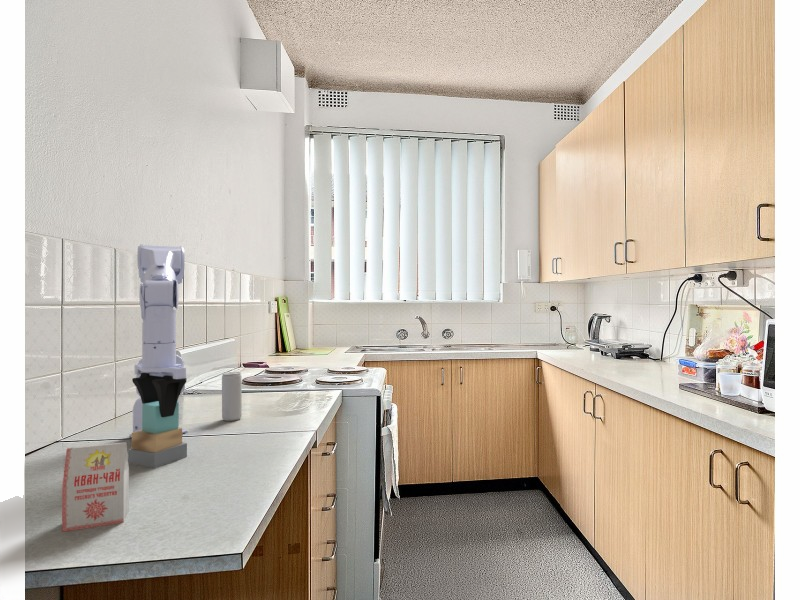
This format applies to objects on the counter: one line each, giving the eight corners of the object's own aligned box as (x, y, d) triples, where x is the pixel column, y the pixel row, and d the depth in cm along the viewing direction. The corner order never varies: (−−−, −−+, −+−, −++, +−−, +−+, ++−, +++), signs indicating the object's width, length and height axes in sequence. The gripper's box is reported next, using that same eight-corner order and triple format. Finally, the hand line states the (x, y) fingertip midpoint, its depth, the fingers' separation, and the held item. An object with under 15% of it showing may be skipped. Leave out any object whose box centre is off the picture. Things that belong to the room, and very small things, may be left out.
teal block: (142, 430, 87) (142, 403, 87) (165, 425, 91) (165, 399, 91) (155, 433, 84) (155, 406, 85) (178, 428, 88) (178, 402, 88)
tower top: (131, 449, 85) (131, 432, 85) (158, 440, 91) (159, 425, 91) (155, 452, 83) (155, 435, 83) (182, 443, 89) (182, 427, 89)
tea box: (71, 519, 62) (71, 444, 62) (128, 511, 64) (128, 439, 64) (62, 531, 58) (62, 452, 59) (123, 522, 61) (123, 446, 61)
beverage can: (235, 421, 117) (235, 374, 118) (218, 421, 118) (217, 374, 119) (245, 417, 122) (244, 372, 122) (228, 417, 123) (228, 371, 123)
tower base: (127, 465, 85) (128, 449, 85) (160, 454, 92) (161, 439, 92) (154, 470, 82) (154, 453, 82) (186, 458, 89) (186, 443, 89)
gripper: (201, 342, 87) (201, 414, 87) (159, 340, 95) (159, 407, 95) (164, 344, 81) (164, 422, 81) (123, 343, 89) (123, 413, 89)
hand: (159, 414), depth 88 cm, fingers open, 5 cm apart
